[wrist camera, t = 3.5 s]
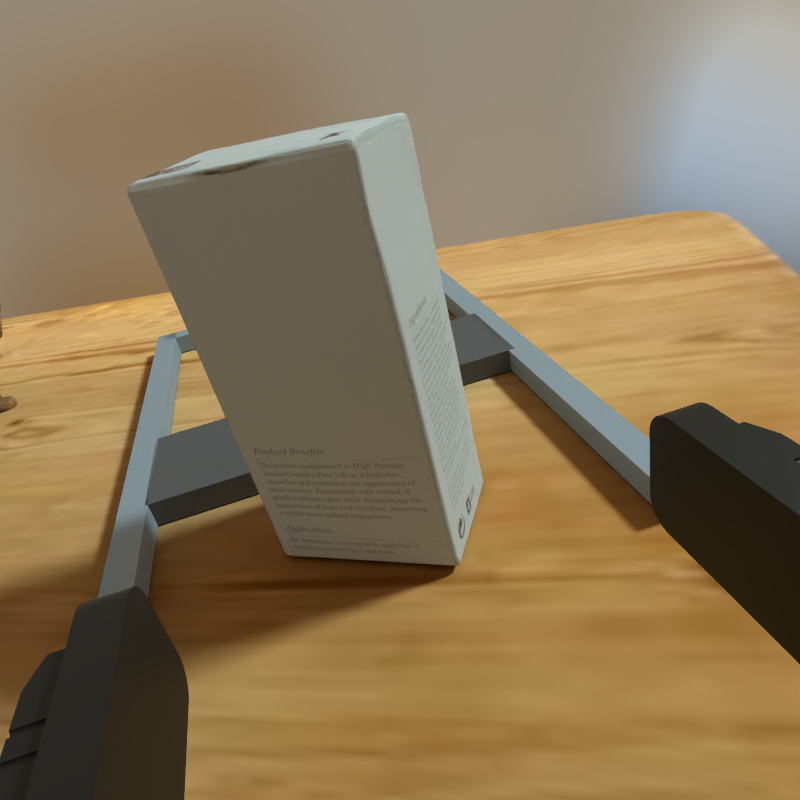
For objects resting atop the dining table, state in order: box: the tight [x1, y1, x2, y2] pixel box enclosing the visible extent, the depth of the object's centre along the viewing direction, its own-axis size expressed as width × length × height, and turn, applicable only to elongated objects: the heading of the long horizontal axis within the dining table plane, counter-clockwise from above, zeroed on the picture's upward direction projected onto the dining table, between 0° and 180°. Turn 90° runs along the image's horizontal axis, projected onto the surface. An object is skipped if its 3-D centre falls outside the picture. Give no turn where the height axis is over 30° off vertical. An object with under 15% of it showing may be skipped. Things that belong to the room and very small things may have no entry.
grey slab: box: [450, 313, 515, 385], centre depth 30 cm, size 5×5×1 cm
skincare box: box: [128, 113, 483, 566], centre depth 18 cm, size 6×4×12 cm
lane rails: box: [97, 268, 652, 598], centre depth 29 cm, size 27×18×1 cm
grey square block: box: [145, 418, 259, 526], centre depth 26 cm, size 5×5×1 cm
